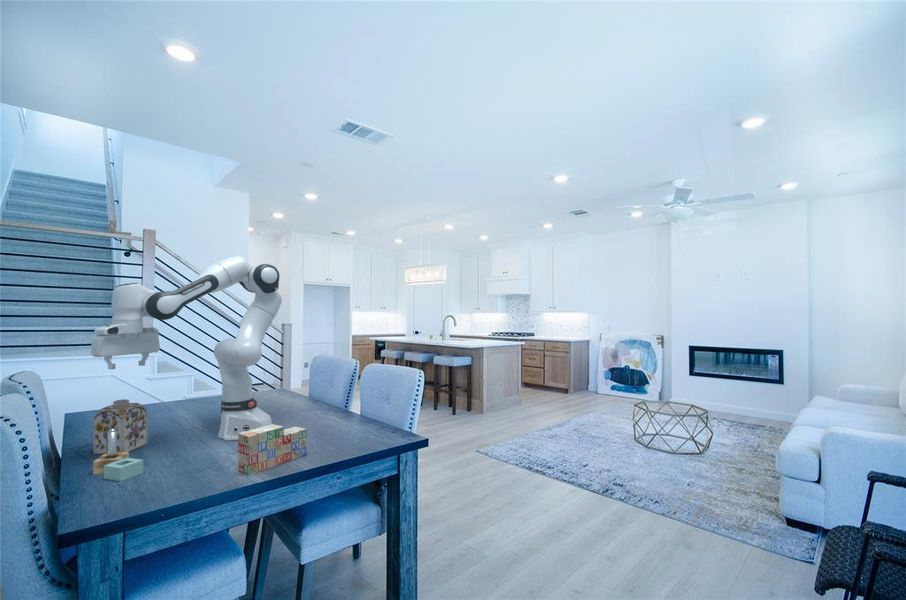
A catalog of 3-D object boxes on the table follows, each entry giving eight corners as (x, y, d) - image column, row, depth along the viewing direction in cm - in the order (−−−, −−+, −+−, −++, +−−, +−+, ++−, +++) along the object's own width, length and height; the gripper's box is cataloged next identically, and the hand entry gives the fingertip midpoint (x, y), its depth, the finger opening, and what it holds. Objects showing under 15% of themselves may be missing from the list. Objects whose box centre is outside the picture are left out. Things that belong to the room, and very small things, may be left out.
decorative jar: (119, 443, 164) (119, 396, 165) (148, 444, 164) (148, 397, 164) (91, 454, 152) (91, 404, 153) (122, 455, 152) (122, 404, 152)
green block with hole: (143, 472, 135) (143, 459, 135) (120, 481, 129) (120, 468, 129) (127, 470, 137) (127, 457, 138) (103, 478, 131) (103, 465, 131)
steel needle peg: (118, 467, 140) (118, 427, 140) (113, 470, 138) (113, 429, 138) (111, 467, 140) (111, 427, 140) (105, 470, 138) (106, 429, 138)
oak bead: (128, 463, 143) (128, 451, 143) (119, 471, 136) (119, 459, 136) (103, 466, 141) (103, 454, 141) (93, 474, 134) (93, 461, 134)
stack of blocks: (296, 452, 154) (296, 417, 154) (307, 455, 150) (306, 420, 151) (237, 471, 136) (237, 432, 137) (248, 475, 133) (248, 435, 133)
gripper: (153, 326, 163) (153, 363, 162) (88, 329, 144) (88, 370, 144) (163, 327, 160) (163, 364, 160) (98, 330, 142) (98, 371, 141)
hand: (127, 367), depth 152 cm, fingers open, 8 cm apart
